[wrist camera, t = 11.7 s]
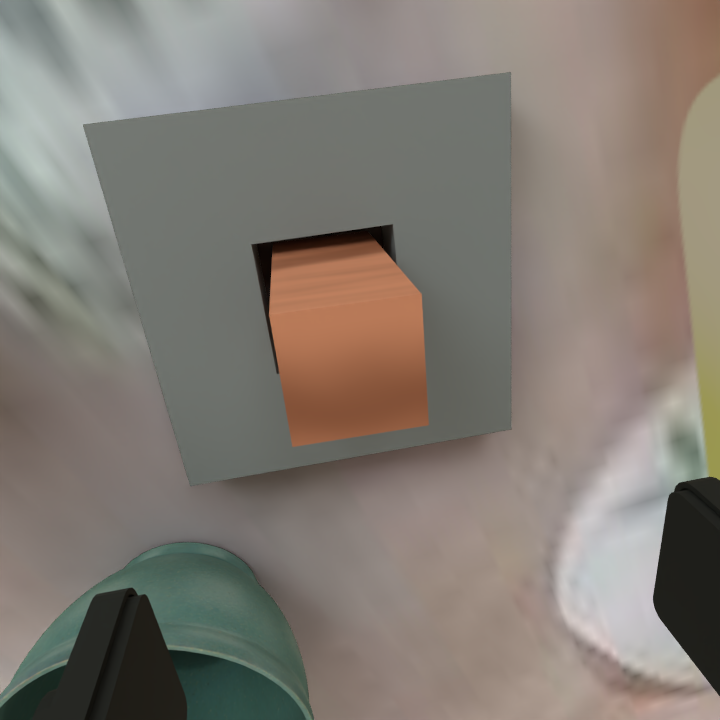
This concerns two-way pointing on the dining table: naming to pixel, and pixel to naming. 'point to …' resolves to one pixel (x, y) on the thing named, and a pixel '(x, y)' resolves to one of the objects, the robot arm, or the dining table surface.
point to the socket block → (308, 218)
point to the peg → (346, 339)
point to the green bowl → (189, 638)
